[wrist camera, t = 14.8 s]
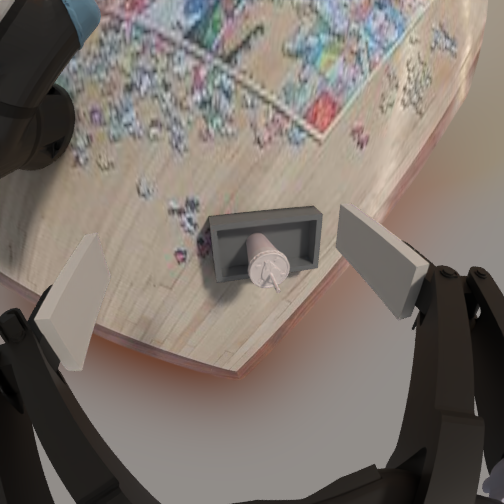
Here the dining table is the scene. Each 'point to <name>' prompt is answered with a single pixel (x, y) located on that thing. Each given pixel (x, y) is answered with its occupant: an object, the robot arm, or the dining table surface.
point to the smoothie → (265, 262)
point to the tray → (274, 229)
